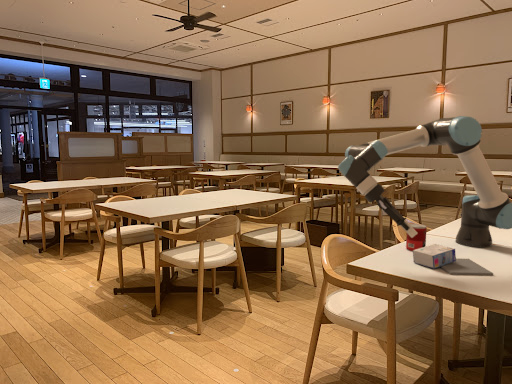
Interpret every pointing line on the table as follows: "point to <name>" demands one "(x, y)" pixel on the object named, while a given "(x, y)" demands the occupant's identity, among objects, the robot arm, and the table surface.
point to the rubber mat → (465, 268)
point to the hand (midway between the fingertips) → (414, 235)
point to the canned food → (416, 238)
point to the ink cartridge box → (434, 256)
